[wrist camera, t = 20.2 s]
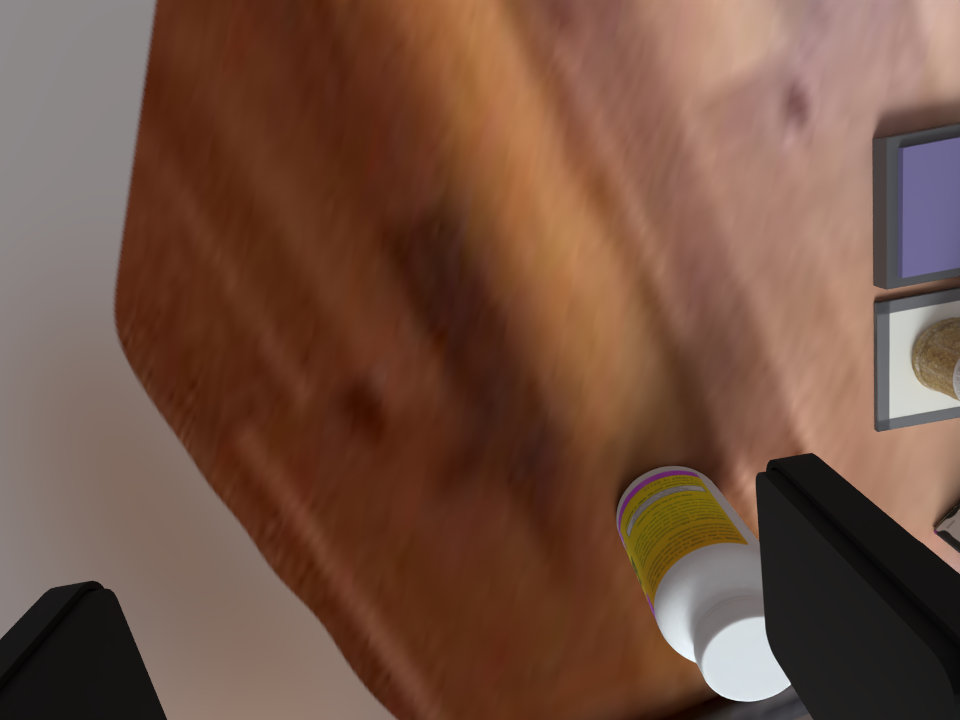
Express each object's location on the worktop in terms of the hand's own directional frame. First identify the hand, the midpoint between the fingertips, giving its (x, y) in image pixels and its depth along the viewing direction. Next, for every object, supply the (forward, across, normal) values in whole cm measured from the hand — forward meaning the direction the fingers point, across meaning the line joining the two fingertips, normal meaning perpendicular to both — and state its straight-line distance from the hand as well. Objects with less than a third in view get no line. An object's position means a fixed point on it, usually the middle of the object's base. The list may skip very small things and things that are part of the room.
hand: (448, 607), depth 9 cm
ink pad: (+28, -27, +1) cm, 39 cm away
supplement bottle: (+28, -10, +17) cm, 35 cm away
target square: (+28, -27, +10) cm, 40 cm away
